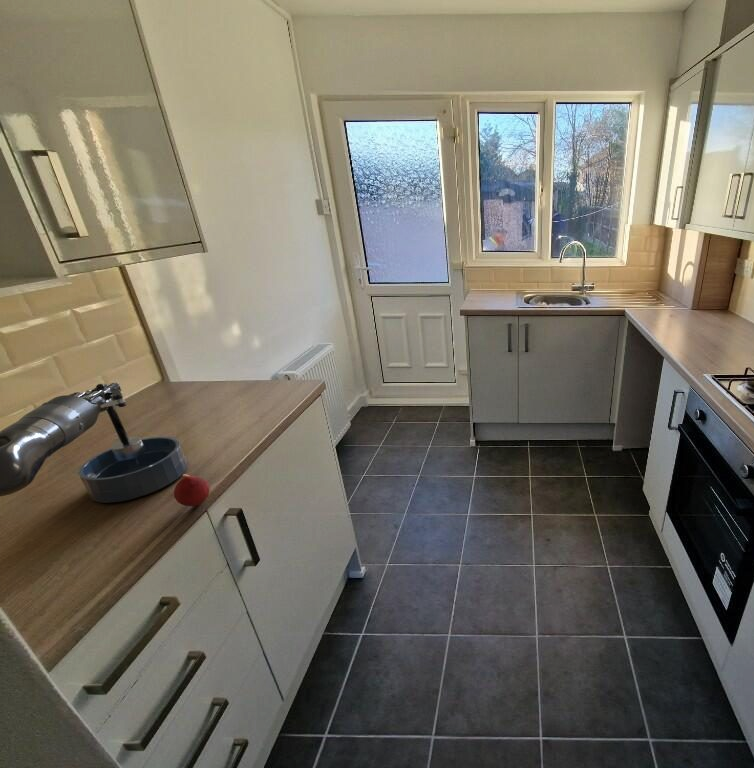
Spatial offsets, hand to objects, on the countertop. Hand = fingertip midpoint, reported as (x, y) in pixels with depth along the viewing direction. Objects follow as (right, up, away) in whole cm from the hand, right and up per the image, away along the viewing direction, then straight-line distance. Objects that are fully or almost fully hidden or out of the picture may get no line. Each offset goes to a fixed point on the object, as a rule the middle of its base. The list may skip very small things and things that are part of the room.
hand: (111, 387), depth 90 cm
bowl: (+1, -22, +6) cm, 23 cm away
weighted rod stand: (+1, -15, +3) cm, 15 cm away
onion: (+20, -25, -2) cm, 32 cm away
